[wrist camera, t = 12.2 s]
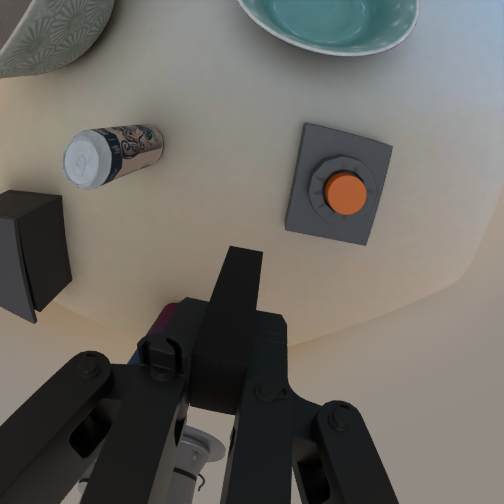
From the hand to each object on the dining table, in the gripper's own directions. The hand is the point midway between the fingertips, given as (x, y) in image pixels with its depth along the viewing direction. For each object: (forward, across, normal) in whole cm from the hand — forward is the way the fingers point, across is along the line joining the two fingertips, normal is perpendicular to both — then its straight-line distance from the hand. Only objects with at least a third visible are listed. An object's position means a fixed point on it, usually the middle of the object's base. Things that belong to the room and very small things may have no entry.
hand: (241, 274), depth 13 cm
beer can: (+18, -14, +3) cm, 23 cm away
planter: (+18, -27, +20) cm, 38 cm away
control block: (+18, +8, +2) cm, 20 cm away
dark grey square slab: (+8, -33, -12) cm, 36 cm away
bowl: (+18, +2, +21) cm, 28 cm away
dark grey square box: (+18, -33, -11) cm, 39 cm away
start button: (+14, +8, +2) cm, 16 cm away
